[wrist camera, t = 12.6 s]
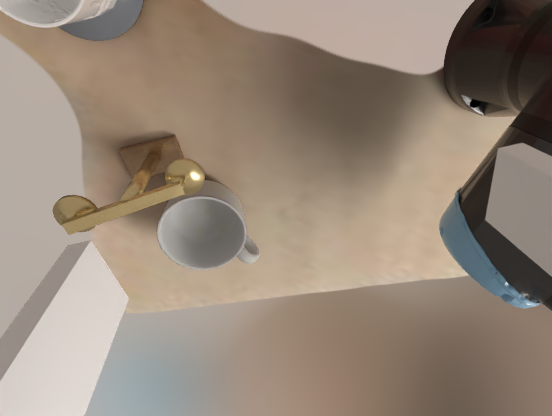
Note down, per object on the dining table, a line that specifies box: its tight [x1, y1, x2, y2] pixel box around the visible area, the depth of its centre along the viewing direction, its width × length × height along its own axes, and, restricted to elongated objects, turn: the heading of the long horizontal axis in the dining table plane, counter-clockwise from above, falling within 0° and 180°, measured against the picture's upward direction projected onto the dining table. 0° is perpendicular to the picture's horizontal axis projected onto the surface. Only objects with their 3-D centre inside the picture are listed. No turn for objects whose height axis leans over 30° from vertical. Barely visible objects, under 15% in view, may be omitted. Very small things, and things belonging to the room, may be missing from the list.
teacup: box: [157, 180, 259, 270], centre depth 43 cm, size 14×11×8 cm
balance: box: [53, 135, 205, 235], centre depth 35 cm, size 15×4×14 cm, turn 101°
